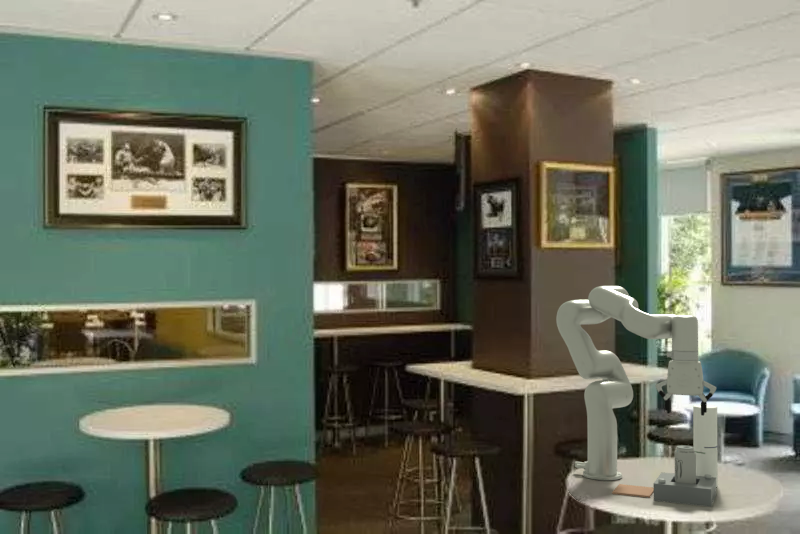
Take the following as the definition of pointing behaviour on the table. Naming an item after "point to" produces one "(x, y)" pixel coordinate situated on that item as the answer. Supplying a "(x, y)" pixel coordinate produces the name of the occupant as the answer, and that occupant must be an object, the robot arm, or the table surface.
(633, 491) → the coaster
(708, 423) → the cylindrical container
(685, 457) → the energy drink can
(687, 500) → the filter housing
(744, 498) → the table surface
